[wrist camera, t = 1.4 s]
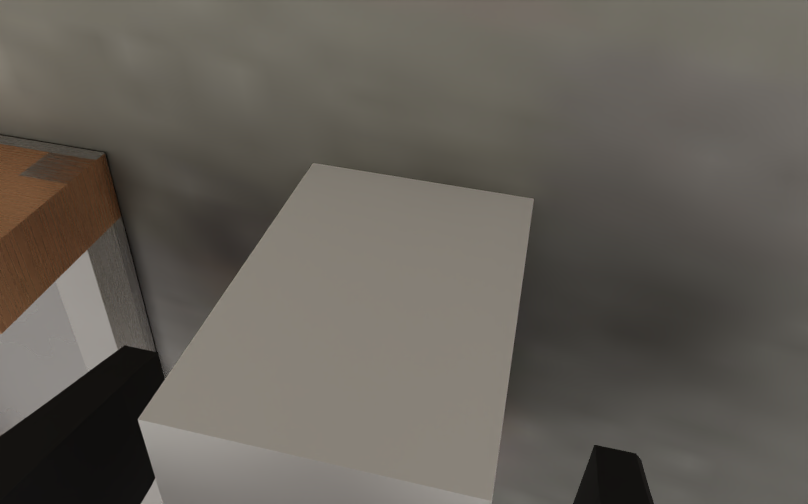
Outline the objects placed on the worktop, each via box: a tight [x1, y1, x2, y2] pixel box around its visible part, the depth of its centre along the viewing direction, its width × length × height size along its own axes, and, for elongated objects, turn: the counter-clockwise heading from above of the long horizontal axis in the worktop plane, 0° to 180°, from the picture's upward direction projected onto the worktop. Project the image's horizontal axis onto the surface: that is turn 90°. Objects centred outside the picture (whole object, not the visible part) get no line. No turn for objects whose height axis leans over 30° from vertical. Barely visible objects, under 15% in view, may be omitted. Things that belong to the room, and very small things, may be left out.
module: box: [138, 163, 534, 504], centre depth 11 cm, size 6×4×6 cm
